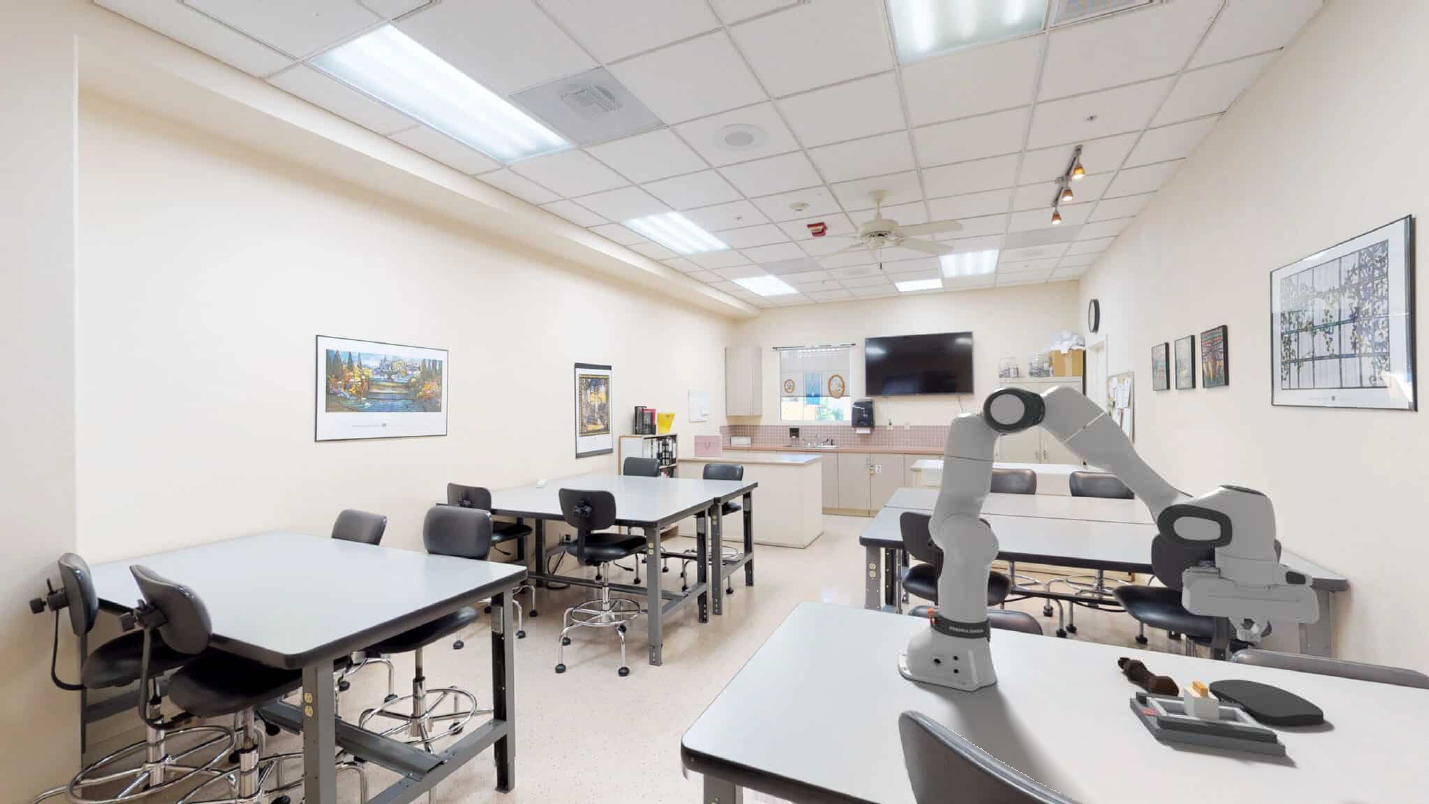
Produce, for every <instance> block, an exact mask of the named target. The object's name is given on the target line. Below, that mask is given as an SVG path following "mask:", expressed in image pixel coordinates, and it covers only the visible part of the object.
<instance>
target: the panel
mask: <svg viewBox="0 0 1429 804" xmlns="http://www.w3.org/2000/svg"><path fill="white" fill-rule="evenodd" d="M1129 707H1130V710H1132V712H1133V713H1134V714H1135V715H1136V717H1138V719H1139V720H1140V721H1141V722H1142V724H1143V725H1144V727H1145V728H1146V729H1147V730H1148V731H1149V732H1150V734H1151V735H1152V736H1153V738H1154V739H1156V740H1162V741H1168V742H1169V741H1171V742H1176V743H1177V742H1179V743H1184V744H1193V745H1199V746H1206V747H1211V748H1212V747H1215V748H1220V749H1228V750H1235V751H1243V752H1249V753H1255V754H1256V753H1258V754H1264V755H1265V754H1266V755H1271V756H1279V757H1286V756H1287V755H1286V745H1285V743H1283V742H1281V741H1280V740H1279V738H1278V735H1277V734H1276V733H1275V732H1274V731H1273V730H1271V729H1267V728H1266V727H1265V726H1264V725H1262V724H1261V723H1260V722H1258V721H1256V720H1254V719H1253V718H1252V717H1251V716H1250V715H1249V714H1247V713H1246V712H1245V708H1244V707H1243V706H1242V705H1241V704H1236V703H1228V702H1220V701H1219V720H1215V719H1207V718H1200V717H1192V716H1188V715H1187V714H1186V713H1185V712H1184V696H1178V697H1177V696H1169V695H1160V694H1152V693H1151V692H1150V693H1149V692H1141V691H1135V698H1133V697H1129Z"/></svg>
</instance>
